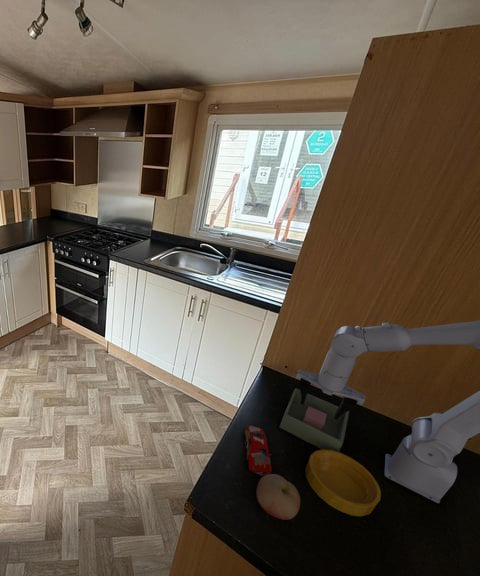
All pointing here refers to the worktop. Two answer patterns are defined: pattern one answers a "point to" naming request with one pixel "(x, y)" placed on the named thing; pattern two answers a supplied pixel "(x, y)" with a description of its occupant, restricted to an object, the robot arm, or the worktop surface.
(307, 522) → the worktop surface
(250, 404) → the worktop surface
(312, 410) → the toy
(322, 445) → the bin
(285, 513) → the fruit
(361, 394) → the robot arm
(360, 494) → the bowl
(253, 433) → the race car
